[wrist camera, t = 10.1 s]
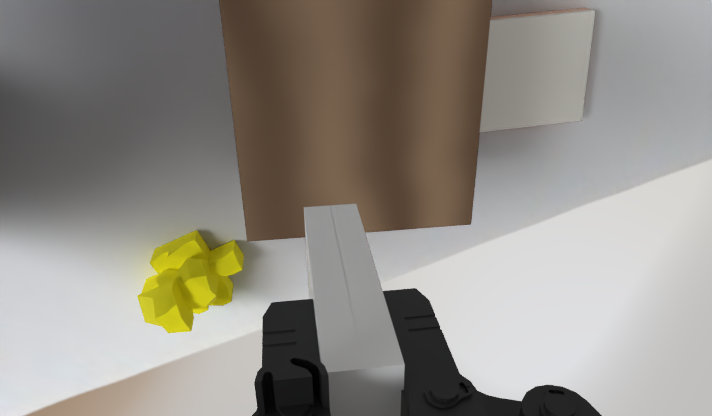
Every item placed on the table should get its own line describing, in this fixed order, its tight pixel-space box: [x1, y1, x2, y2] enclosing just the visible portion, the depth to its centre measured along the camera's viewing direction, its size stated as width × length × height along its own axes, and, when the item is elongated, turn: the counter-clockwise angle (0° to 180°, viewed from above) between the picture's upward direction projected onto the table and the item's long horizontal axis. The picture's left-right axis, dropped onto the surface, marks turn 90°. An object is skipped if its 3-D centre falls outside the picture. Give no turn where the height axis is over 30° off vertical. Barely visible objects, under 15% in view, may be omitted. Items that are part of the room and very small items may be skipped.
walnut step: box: [219, 0, 492, 241], centre depth 36 cm, size 14×14×10 cm
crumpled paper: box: [138, 230, 244, 333], centre depth 43 cm, size 6×8×8 cm
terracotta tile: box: [480, 8, 595, 132], centre depth 42 cm, size 8×8×2 cm
